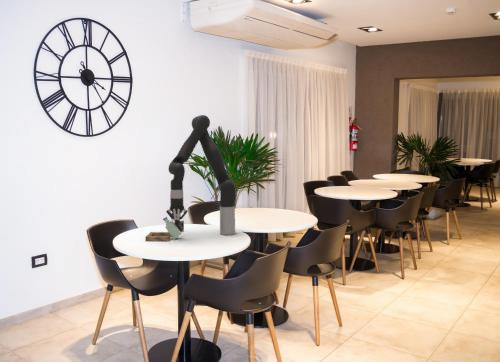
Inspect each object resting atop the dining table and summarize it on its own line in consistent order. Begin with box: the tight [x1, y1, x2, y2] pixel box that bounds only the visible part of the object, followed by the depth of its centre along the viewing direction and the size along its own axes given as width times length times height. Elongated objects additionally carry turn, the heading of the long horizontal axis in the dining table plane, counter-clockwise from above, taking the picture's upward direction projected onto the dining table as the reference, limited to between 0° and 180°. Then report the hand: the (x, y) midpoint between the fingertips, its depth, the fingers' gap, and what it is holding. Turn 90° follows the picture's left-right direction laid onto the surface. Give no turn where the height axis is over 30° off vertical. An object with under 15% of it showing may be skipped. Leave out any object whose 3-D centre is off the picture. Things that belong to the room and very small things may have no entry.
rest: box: [145, 231, 172, 242], centre depth 279 cm, size 14×13×2 cm
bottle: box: [162, 216, 182, 240], centre depth 278 cm, size 5×5×14 cm
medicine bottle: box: [168, 212, 185, 233], centre depth 298 cm, size 7×7×12 cm
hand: (177, 226), depth 278 cm, fingers closed
